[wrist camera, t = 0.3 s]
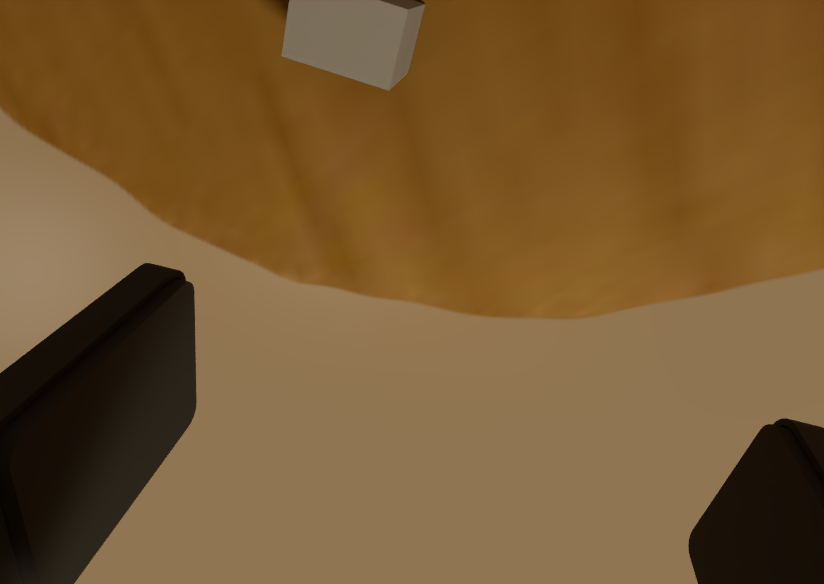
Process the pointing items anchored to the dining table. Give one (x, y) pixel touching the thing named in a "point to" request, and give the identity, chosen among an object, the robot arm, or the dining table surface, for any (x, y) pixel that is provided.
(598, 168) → the dining table surface
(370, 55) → the block
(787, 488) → the robot arm
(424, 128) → the dining table surface
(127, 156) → the dining table surface
